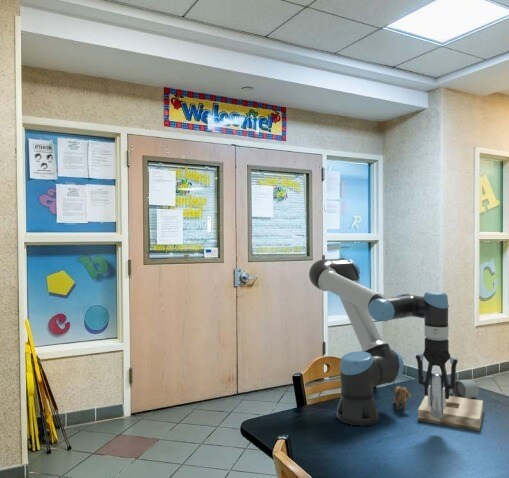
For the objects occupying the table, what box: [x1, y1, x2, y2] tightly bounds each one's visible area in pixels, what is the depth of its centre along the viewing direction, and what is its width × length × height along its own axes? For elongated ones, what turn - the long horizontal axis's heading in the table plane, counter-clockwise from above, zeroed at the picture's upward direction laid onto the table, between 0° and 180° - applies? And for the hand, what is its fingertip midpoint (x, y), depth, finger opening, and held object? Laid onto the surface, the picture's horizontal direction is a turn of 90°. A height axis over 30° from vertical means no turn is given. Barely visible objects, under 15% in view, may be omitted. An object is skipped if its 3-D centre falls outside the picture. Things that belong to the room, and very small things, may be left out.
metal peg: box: [429, 372, 444, 418], centre depth 153 cm, size 4×4×14 cm
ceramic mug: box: [449, 379, 480, 399], centre depth 186 cm, size 11×8×8 cm
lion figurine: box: [392, 385, 412, 410], centre depth 178 cm, size 15×5×9 cm, turn 178°
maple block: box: [417, 395, 484, 432], centre depth 167 cm, size 20×20×4 cm
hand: (437, 406), depth 153 cm, fingers closed on metal peg, 4 cm apart
